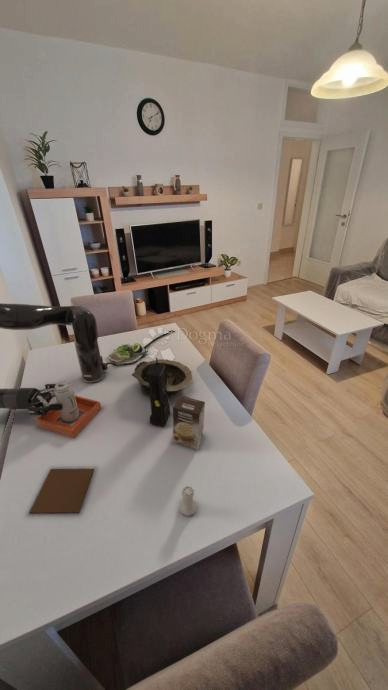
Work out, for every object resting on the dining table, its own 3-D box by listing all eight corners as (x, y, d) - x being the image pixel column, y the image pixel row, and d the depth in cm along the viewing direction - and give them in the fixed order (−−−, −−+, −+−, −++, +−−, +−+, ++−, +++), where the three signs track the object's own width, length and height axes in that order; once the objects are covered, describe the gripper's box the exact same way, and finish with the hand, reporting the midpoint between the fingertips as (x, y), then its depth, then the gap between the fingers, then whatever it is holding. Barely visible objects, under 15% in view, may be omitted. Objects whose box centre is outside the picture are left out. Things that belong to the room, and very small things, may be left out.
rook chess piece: (179, 500, 76) (178, 482, 72) (195, 499, 77) (195, 481, 73) (179, 517, 72) (179, 499, 68) (196, 516, 73) (197, 498, 69)
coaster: (51, 469, 84) (50, 468, 84) (94, 469, 84) (93, 468, 84) (29, 513, 73) (29, 512, 73) (79, 513, 73) (78, 512, 73)
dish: (68, 399, 112) (66, 392, 110) (101, 408, 108) (100, 401, 106) (38, 426, 99) (35, 419, 97) (73, 438, 95) (71, 431, 93)
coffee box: (172, 443, 93) (171, 407, 86) (179, 429, 99) (178, 394, 91) (197, 450, 91) (199, 414, 83) (203, 436, 96) (205, 400, 88)
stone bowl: (123, 396, 113) (121, 377, 109) (153, 368, 134) (152, 351, 131) (177, 412, 105) (177, 392, 101) (200, 380, 126) (201, 362, 122)
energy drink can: (75, 423, 101) (67, 391, 93) (59, 422, 101) (49, 390, 93) (82, 411, 106) (74, 380, 98) (66, 411, 106) (57, 379, 99)
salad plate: (131, 371, 130) (130, 362, 127) (100, 363, 135) (98, 355, 133) (151, 351, 145) (150, 344, 143) (122, 345, 151) (121, 337, 149)
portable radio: (164, 429, 99) (161, 372, 86) (148, 426, 100) (143, 369, 87) (170, 414, 105) (168, 358, 93) (155, 411, 106) (151, 356, 94)
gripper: (6, 404, 91) (56, 404, 91) (28, 378, 103) (72, 378, 103) (13, 420, 94) (61, 420, 95) (34, 393, 107) (76, 393, 107)
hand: (67, 398), depth 99 cm, fingers open, 8 cm apart
